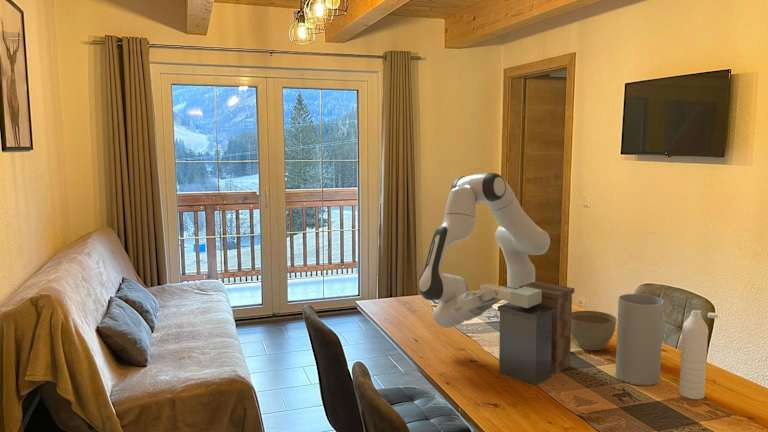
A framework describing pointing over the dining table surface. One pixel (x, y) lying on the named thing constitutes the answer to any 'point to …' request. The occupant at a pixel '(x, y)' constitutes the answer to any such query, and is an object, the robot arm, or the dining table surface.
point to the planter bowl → (592, 329)
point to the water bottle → (694, 356)
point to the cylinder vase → (639, 339)
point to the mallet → (515, 295)
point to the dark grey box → (525, 342)
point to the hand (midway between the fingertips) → (501, 291)
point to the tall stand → (558, 321)
